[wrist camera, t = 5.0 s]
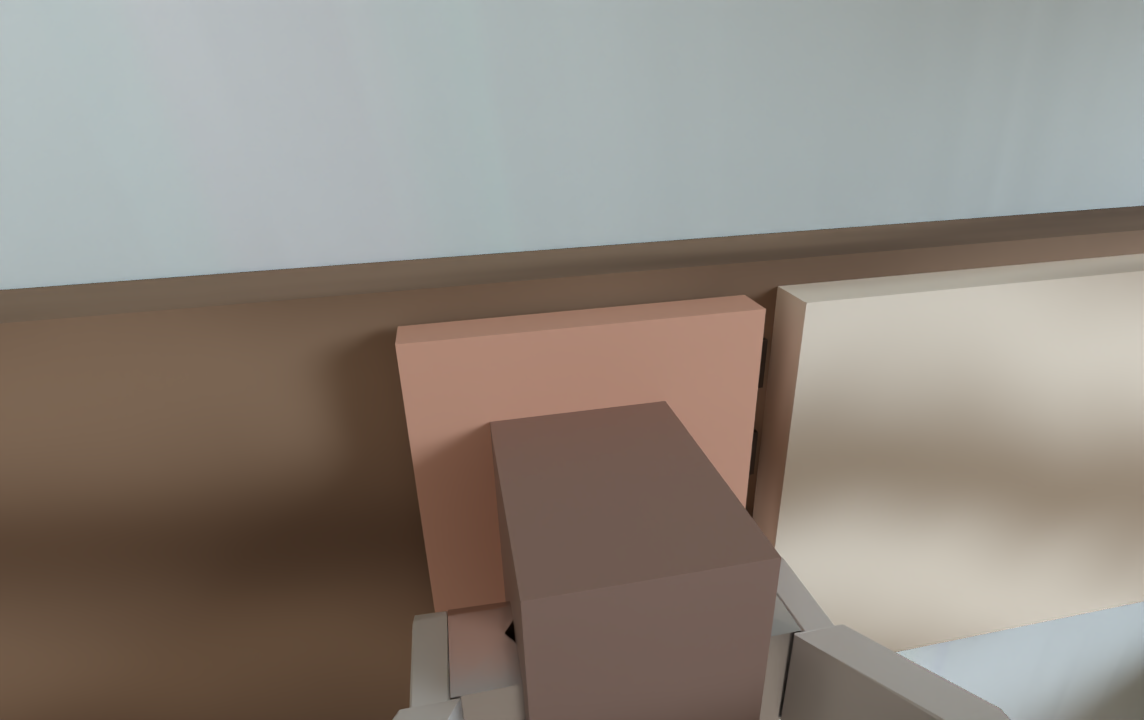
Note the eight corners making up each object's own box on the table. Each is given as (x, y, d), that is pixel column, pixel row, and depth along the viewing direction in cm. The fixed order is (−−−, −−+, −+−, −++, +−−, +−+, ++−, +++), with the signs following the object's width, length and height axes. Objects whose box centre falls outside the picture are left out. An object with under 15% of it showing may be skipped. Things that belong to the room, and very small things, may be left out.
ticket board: (-558, 331, 10) (-1304, 515, 5) (1355, 190, 16) (1673, 225, 12) (-214, 764, 14) (-496, 1059, 10) (1207, 511, 20) (1407, 620, 16)
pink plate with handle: (397, 326, 10) (371, 501, 6) (744, 294, 11) (939, 424, 7) (453, 712, 14) (463, 997, 10) (712, 661, 15) (827, 897, 11)
